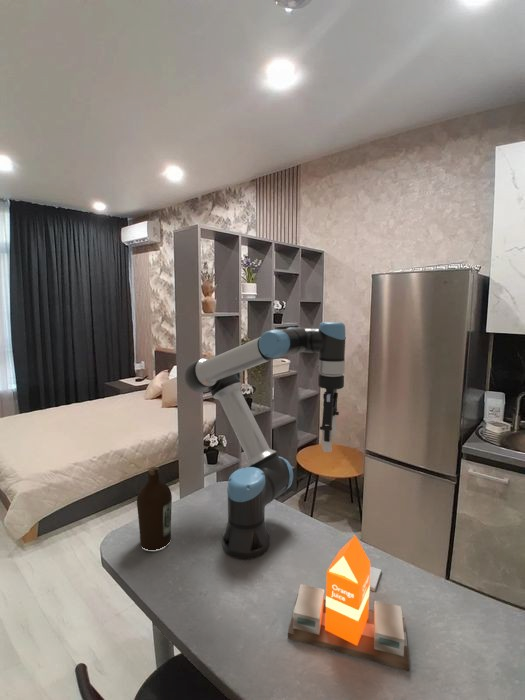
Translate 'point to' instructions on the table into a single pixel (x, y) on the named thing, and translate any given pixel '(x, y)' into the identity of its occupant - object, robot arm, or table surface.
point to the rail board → (376, 639)
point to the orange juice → (348, 592)
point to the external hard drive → (374, 577)
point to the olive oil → (154, 512)
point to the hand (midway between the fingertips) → (329, 443)
